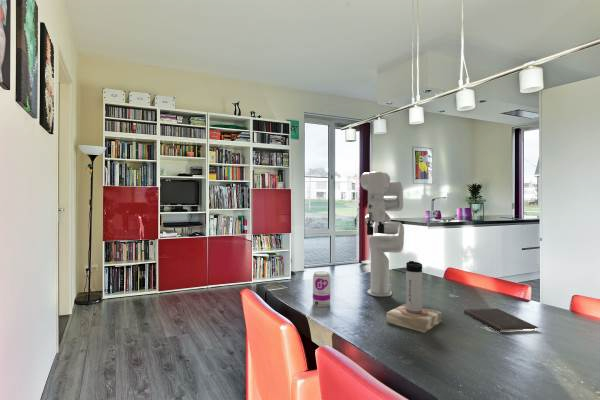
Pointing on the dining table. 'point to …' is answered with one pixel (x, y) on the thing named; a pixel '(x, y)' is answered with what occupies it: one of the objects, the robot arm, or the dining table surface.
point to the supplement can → (321, 289)
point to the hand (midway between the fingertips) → (375, 234)
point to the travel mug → (414, 287)
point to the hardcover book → (499, 319)
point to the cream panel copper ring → (414, 318)
